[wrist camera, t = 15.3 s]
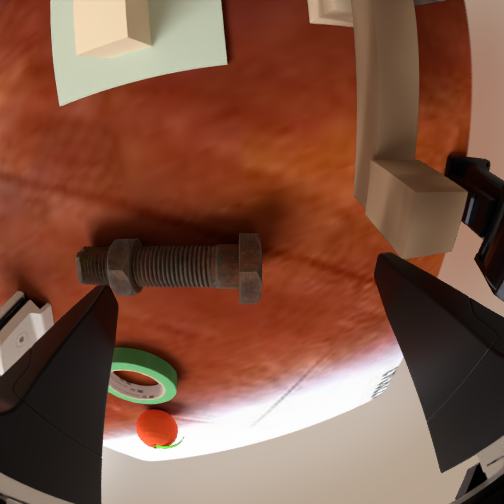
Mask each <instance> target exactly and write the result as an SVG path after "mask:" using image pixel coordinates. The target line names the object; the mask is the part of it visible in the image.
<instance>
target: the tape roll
mask: <svg viewBox="0 0 504 504" xmlns="http://www.w3.org/2000/svg"><path fill="white" fill-rule="evenodd" d="M119 370H126V371H134V372H138V373H141V374H144V375H146V376H149V377H151V378H153V379H154V380H156V381H157V382H158V383H159V384H158V385H154V386H141V385H136V384H132V383H129V382H127V381H125V380H123V379H121V378H119V377H118V376H117V375H116V374H114V372H113V371H119ZM176 391H177V373H176V371H175V370H174V368H173V367H172V366H171V365H170V364H169V363H167V362H166V361H165V360H163V359H161V358H159V357H157V356H155V355H153V354H151V353H148V352H145V351H142V350H138V349H133V348H124V347H118V348H115V349H114V355H113V361H112V367H111V373H110V380H109V387H108V392H110V393H111V394H113V395H115V396H117V397H120V398H122V399H125V400H128V401H132V402H136V403H143V404H158V403H163V402H167V401H169V400H171V399H172V398H173V397H174V396H175V395H176Z"/></svg>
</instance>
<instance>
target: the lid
mask: <svg viewBox="0 0 504 504" xmlns="http://www.w3.org/2000/svg"><path fill="white" fill-rule="evenodd" d="M51 37H52V51H53V61H54V70H55V78H56V85H57V92H58V98H59V104H60V106H63V105H65V104H68V103H70V102H73V101H75V100H78V99H81V98H83V97H86V96H89V95H92V94H95V93H98V92H101V91H104V90H107V89H110V88H114V87H117V86H120V85H124V84H127V83H131V82H135V81H139V80H143V79H147V78H151V77H155V76H160V75H164V74H169V73H174V72H180V71H185V70H191V69H197V68H204V67H211V66H219V65H227V56H226V46H225V36H224V26H223V16H222V5H221V0H51Z"/></svg>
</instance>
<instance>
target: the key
mask: <svg viewBox="0 0 504 504" xmlns="http://www.w3.org/2000/svg"><path fill="white" fill-rule="evenodd" d="M351 6H352V15H353V26H354V38H355V53H356V75H357V140H356V164H355V180H354V194H353V196H354V197H355V198H356V199H357V200H358V201H359V202H360V203H361V204H362V206H363V207H364V208H365V209H366V213H365V215H366V216H367V217H368V218H369V219H370V221H371V222H372V223H373V224H374V225H375V227H376V228H377V229H378V230H379V231H380V232H381V234H382V235H383V236H384V237H385V239H386V240H387V241H388V242H389V243H390V245H391V246H392V247H393V248H394V250H395V251H396V252H397V254H398V255H399V256H400V257H401V258H402V259H408V258H414V257H421V256H427V255H433V254H439V253H445V252H451V251H452V249H453V246H454V243H455V240H456V237H457V233H458V230H459V226H460V222H461V219H462V215H463V211H464V207H465V203H466V199H467V195H468V191H466V190H465V189H463V188H462V187H461V186H459V185H458V184H456V183H455V182H453V181H452V180H450V179H449V178H447V177H445V176H444V175H442V174H441V173H439V172H438V171H436V170H434V169H433V168H431V167H429V166H428V165H426V164H424V163H423V162H421V161H419V160H415V152H416V141H417V129H418V111H419V53H418V37H417V25H416V16H415V7H414V0H351Z"/></svg>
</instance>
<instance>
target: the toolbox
mask: <svg viewBox="0 0 504 504" xmlns="http://www.w3.org/2000/svg"><path fill="white" fill-rule="evenodd" d="M440 1H446V0H414V6H418V5H423V4H428V3H434V2H440ZM308 9H309V19H310V23H315V24H328V25H338V26H346V27H354V26H353V15H352V6H351V0H308Z"/></svg>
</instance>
